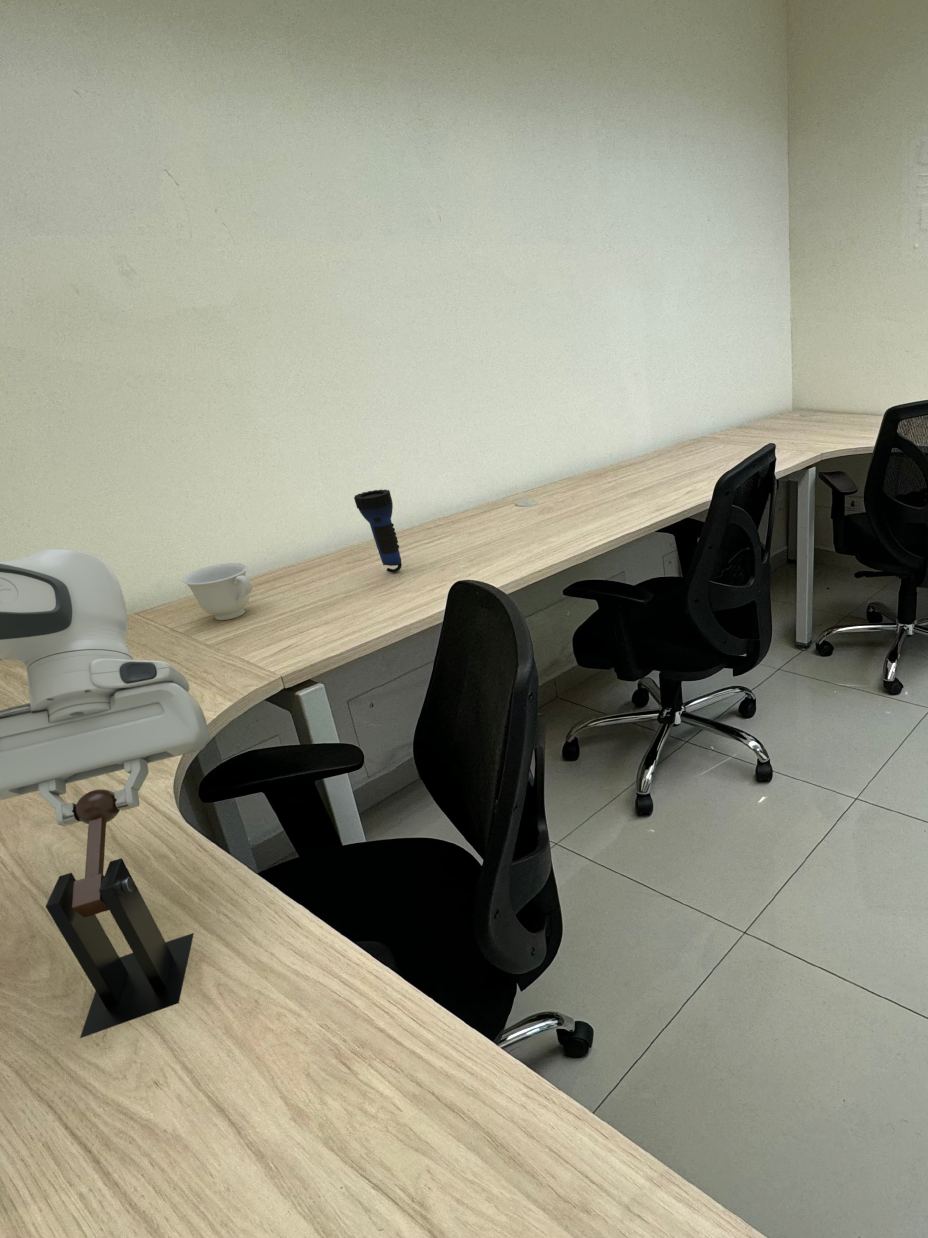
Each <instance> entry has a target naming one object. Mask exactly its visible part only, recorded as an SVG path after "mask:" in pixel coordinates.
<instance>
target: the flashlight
mask: <svg viewBox="0 0 928 1238" xmlns="http://www.w3.org/2000/svg"><path fill="white" fill-rule="evenodd" d="M353 499H354V502H355V506H356V509H358V511H359V512H360V514H361V516H362V517H363V518H364V519H365V521H367V522H368V524H369V526H370V530H371V532H372V536H373V539H374V543H375V545H376V548H377V551H378V554H379V557H380V560H381V563H382V566H389V567H388V568H386V571H387V572H389V573H391V574H392V573H397V572H399V571H400V570H401V568H402V565H403V564H402V557H401V553H400V545H399V540H398V536H397V532H396V529H395V527H394V526H395V525H394V523H393V522H392V515H393V510H394V509H393V508H394V507H393V506H394V505H393V504H394V503H393V499H392V495H391V491H390V489H373V490H367V491H364V492H361V493H357V494H355V495H354V497H353ZM390 567H395V568H390Z"/></svg>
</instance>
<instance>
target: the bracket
mask: <svg viewBox="0 0 928 1238" xmlns="http://www.w3.org/2000/svg"><path fill="white" fill-rule="evenodd" d="M104 873H105V874H104V878H103V881H102V884H101V886H100V889H99V892H100V894H101V896H102V897H103V899H104V901H105V903H106V905H107V906H108V908H109V910H108V911H109V912H110V914H111V916H112V918H113V919H114V921H115V923H116V924H117V926H118V928H119V930H120V933H121V934H122V935H123V937H124V939H125V941H126V943H127V945H128V947H129V948H130V950H131V952H130V953H128V954H125V955H121V956H119V954H118V952H117V950H116V949H115V947H114V944H113V943H112V942H111V939H110V938H109V937H108V934H107V933H106V931H105V929H104V928H103V926H102V924H101V922H100V920H99V918H98V917H97V914H95V915H91V916H88V917H85V918H84V917H83V916H81V915H80V914H79V913H77V912H76V911H75V910H73V909H72V897H73V885H74V881H77V879H76V877H75V876H74V874H73V872H69V873H65V874H61V875H60V876H58V878H57V880H56V881H55V884H54V887H53V889H52V891H51V893H50V896H49V897H48V900H47V902H46V904H45V908H46V910H47V912H48V914H49V915H50V917H51V919H52V920H53V922H54V924H55V925H56V927H57V929H58V930H59V932H60V933H61V935H62V937H63V939H64V940H65V942H66V944H67V945H68V947H69V948H70V951H71V952H72V953H73V955H74V957H75V958H76V961H77V962H78V963H79V965H80V967H81V969H82V970H83V972H84V974H85V976H86V977H87V979H88V981H89V982H90V984H91V985H92V987H93V989H94V990H95V992H94V994H93V998H92V1000H91V1004H90V1006H89V1010H88V1013H87V1016H86V1019H85V1022H84V1025H83V1028H82V1031H81V1033H80V1036H79V1039H82V1038H86V1037H88V1036H92V1035H93V1034H96V1033H100V1032H102V1031H105V1030H107V1029H111V1028H114V1027H116V1026H119V1025H121V1024H124V1023H127V1022H130V1021H133V1020H135V1019H138V1018H141V1017H144V1016H146V1015H150V1014H153V1013H156V1012H158V1011H162V1010H164V1009H166V1008H169V1007H173V1006H176V1005H178V1004H180V999H181V994H182V991H183V986H184V981H185V977H186V973H187V967H188V962H189V958H190V954H191V953H190V952H191V949H192V943H193V939H194V935H195V934H194V932H192V933H189V934H186V935H183V936H180V937H176V938H173V939H170V940H168V941H166V940H165V938H164V935H162V934H163V933H162V932H161V930H160V928H159V927H158V925H157V923H156V921H155V919H154V917H153V915H152V913H151V911H150V909H149V907H148V906H147V904H146V902H145V900H144V898H143V896H142V894H141V892H140V890H139V888H138V887H137V885H136V882H135V880H134V879H133V877H132V874H131V873H130V871H129V869H128V867H127V865H126V863H125V862H124V859H123V858H122V857H121V858H117V859H114V860H110V861H109V863H108V866H107V867H106V871H105V872H104Z"/></svg>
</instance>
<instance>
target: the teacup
mask: <svg viewBox="0 0 928 1238" xmlns="http://www.w3.org/2000/svg"><path fill="white" fill-rule="evenodd" d="M247 569H248V566H247V565H245V564H244V563H240V562H239V563H238V562H229V563H220V564H219V563H218V564H214V565H210V566H209V565H208V566H206V567H203V568H199V569H197V570H194V571H192V572H189V573H187V574H186V575H184V577H183V578H182V580H181V583H183V584H185V585H186V586H187V587H188V588H189V589H190V590H191V592H192V594H193V596H194V598H195V599H196V601H197V603H198V604H199V607H200V608H201V609H202V610H203V611H204V612H206V613H208V614H210V615H214V618H215V620H217V621H227V620H232V619H235V618H239V617H241V616H242V615H244V614H245V613H246V609H245V607H246V606H247V605H248V604H249V601H250V594H251V593H252V588H253V587H252V586H253V585H252V583H251V582H250V581H251V580H250V579H249V578H248V577H247V576H246V572H247Z"/></svg>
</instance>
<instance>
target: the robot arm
mask: <svg viewBox="0 0 928 1238" xmlns="http://www.w3.org/2000/svg"><path fill="white" fill-rule="evenodd" d="M129 629H130V627H129V619H128V612H127V606H126V601H125V597H124V594H123V590H122V586H121V583H120V582H119V578H118V576H117V575H116V574H115V571H114V569H112V567H111V566H110V565H109V564H108V562H106V561H105V560H104V559H102V558H101V557H98V556H97V555H95V554H92V553H89V552H86V551H82V550H78V549H73V548H48V549H42V550H38V551H35V552H33V553H32V554H30V555H27V556H25V557H20V558H16V559H12V560H11V559H9V560H3V561H2V560H0V665H1V664H2V663H3V662H5V661H8V660H9V661H19V662H21V663H23V664H24V666H25V668H26V677H27V678H26V679H27V687H28V698H29V699H28V700H29V703H24V704H19V705H15V706H11V707H7V708H5V709H1V710H0V801H3V800H7V799H12V798H15V797H19V796H23V795H27V794H32V793H35V792H38V794H39V796H40V797H41V798H42V799H44V800H45V801H46V802H47V803H48V804H49V805H50V806H51V807H52V808H54V810H55V818H56V823H57V825H59V826H61V827H66V826H71V825H74V824H77V823H83V822H82V821H81V820H79V818H78V817H77V815H76V812H75V808H76V804H77V803H74V802H70V803H67V802H66V800H65V799H64V798H62V797H61V795H66V794H67V785H68V784H71V783H75V782H79V781H84V780H88V779H91V778H96V777H100V776H104V775H108V774H111V773H115V772H119V771H123V770H124V772H125V773H127V774H129V776H128V778H127V780H126V782H125V784H124V786H123V789H120V790H116V791H113V792H114V796H115V799H116V802H115V804H116V807H117V809H119V810H120V811H126V810H130V809H134V808H138V807H140V797H139V791H140V790H141V788H142V786H143V785H144V782H145V781H146V779H147V777H148V775H149V765H148V764H152V763H156V762H159V761H164V760H167V759H172V758H175V757H179V756H184V755H188V754H191V753H195V752H199V751H203V750H204V749H205V748H206V746H207V744H208V743H209V742H210V732H209V727H208V724H207V723H208V722H207V720H206V716H205V714H204V711H203V707H202V706H201V704H200V702H199V701H198V700H197V699H196V698H195V697H194V695H192V694H191V693H190V692H189V691H190V683H189V681H188V679H187V677H186V676H185V675H184V674H183V673H182V672H181V670H179V669H178V668H176V667H175V666H173V664H170V663H168V662H167V661H163V660H147V659H146V660H142V659H141V660H140V659H134V657H133V654H132V652H131V651H130V648H129V647H128V646H129V645H128V644H127V641H128V640H127V638H128V634H129Z"/></svg>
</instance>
